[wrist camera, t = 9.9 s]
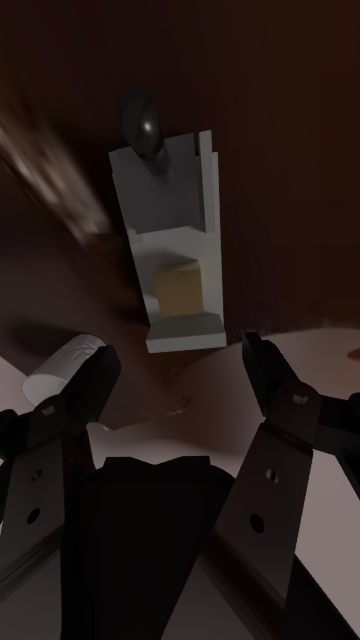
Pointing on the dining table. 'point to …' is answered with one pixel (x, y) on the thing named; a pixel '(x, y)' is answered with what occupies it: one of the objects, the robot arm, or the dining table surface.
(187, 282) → the tan cube
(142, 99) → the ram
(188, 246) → the press
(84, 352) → the white cup
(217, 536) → the robot arm
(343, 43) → the dining table surface
